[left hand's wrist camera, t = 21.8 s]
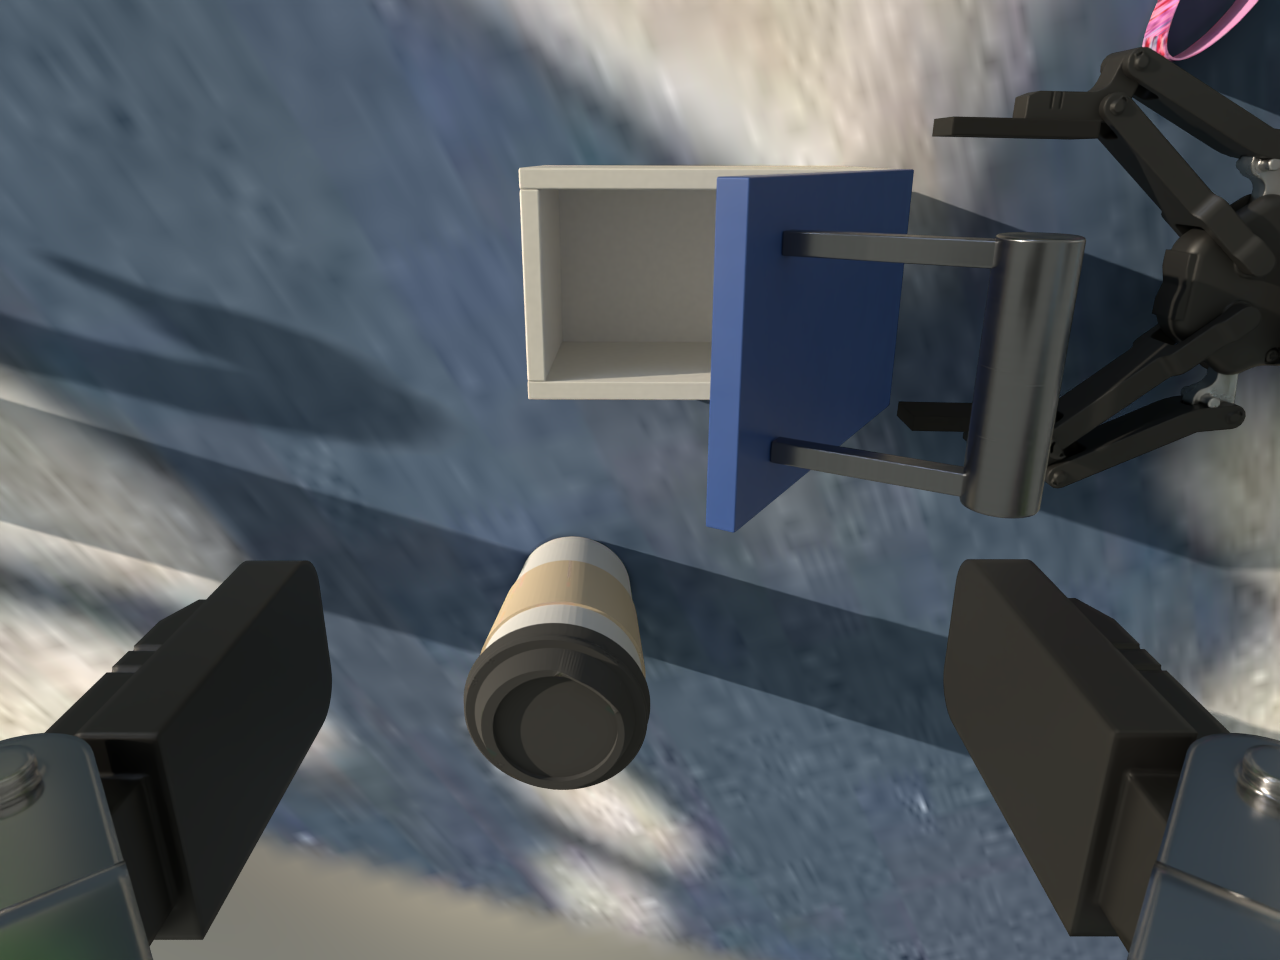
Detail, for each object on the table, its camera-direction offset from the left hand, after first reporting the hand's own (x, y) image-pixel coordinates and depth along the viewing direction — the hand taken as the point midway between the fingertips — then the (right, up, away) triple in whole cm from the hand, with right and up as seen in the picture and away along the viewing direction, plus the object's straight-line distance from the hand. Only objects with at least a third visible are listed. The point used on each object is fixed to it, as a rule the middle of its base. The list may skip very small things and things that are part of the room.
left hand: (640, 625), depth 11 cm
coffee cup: (-4, -5, +44) cm, 44 cm away
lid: (+6, +8, +20) cm, 23 cm away
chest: (+3, +14, +37) cm, 39 cm away
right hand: (+14, +11, +31) cm, 36 cm away
